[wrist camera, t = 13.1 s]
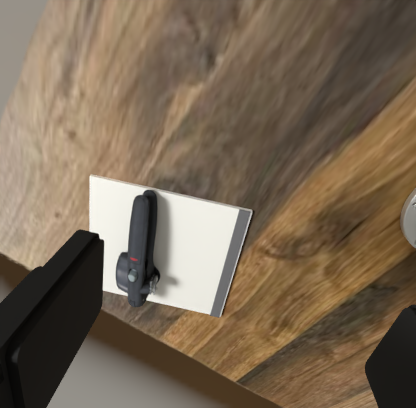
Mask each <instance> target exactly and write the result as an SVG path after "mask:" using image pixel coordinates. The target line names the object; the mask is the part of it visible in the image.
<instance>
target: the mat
mask: <svg viewBox="0 0 416 408" xmlns="http://www.w3.org/2000/svg"><path fill="white" fill-rule="evenodd" d="M146 190H152V191H154V192H155V194H156V195H157V203H158V204H157V206H158V209H157V227H156V237H155V244H154V252H153V262H154V265H155V267H156V268H157V269H158V270H159V272H160V280H159V282H158V283H157V284H156V287H157V288H158V289H156V291H155V295H154V294H153V292H152V293H151V295H150V294H149V295H148V297H147V299H146V300H148V301H152V302H157V303H161V304H166V305H170V306H175V307H179V308H184V309H188V310H192V311H197V312H201V313H206V314H210V316H215V317H221V314H222V311H223V307H224V304H225V301H226V298H227V294H228V291H229V288H230V284H231V281H232V278H233V275H234V271H235V268H236V265H237V261H238V258H239V255H240V251H241V248H242V245H243V242H244V238H245V235H246V232H247V228H248V225H249V222H250V219H251V215H252V210H251V209H246V208H242V207H237V206H233V205H228V204H224V203H219V202H215V201H210V200H206V199H201V198H197V197H192V196H188V195H183V194H179V193H174V192H170V191H165V190H161V189H156V188H152V187H147V186H143V185H138V184H134V183H129V182H125V181H120V180H116V179H111V178H107V177H102V176H98V175H93V174H91V175H90V232H94V233H98V234H99V238H100V239H103V240H104V268H103V290H104V291H108V292H113V293H117V294H121V295H126V296H128V294H127V293H125V292H124V291H122V290H120V289H118V287H117V284H116V265H117V261H118V258H119V255H120V254H121V253H122V252H128V238H129V227H130V219H131V212H132V206H133V201H134V199H135V197H136V196H138V195H143V193H144V191H146Z"/></svg>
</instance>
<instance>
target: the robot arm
mask: <svg viewBox="0 0 416 408" xmlns="http://www.w3.org/2000/svg"><path fill="white" fill-rule="evenodd" d="M400 225H401V230H402V232H403V235H404V236H405V238H406V239H407V241H408V242H409V243H410V244H411V245H412V246H413V247H414V248H416V188H415V189H414V191H413V192H412V193H411V194H410V195H409V197H408V198H407V200H406V202H405V203H404V206H403V209H402V211H401V217H400ZM103 268H104V240H103V239H100V238H99V234H98V233H94V232H89V231H85V230H78V231H76V232H75V233H74V234H73V235H72V237H71V238H70V239H69V240H68V241H67V242H66V243H65V244H64V245H63V246H62V247H61V248H60V249H59V250H58V251H57V252H56V253H55V255H54V256H53V257H52V258H51V259H50V260H49V261H48V262H47V263H46V264H45V265H44V266H43V267H41V266H39V267H37V268H35V269H34V270H32V271H31V272H30V273H29V274H28V275H27V276H26V277H25V278H24V279H23V280H22V281H21V283H19V285H17V287H16V288H15V289H14V290H13V291H12V292H11V293H10V294H9V295H8V296H7V297H6V298H5V299H4V300H3V301H2V302H1V303H0V408H46V407H47V406H48V404H49V402H50V400H51V398H52V396H53V395H54V393H55V391H56V389H57V388H58V386H59V384H60V382H61V380H62V378H63V377H64V375H65V373H66V371H67V369H68V368H69V366H70V364H71V362H72V361H73V359H74V357H75V355H76V353H77V351H78V350H79V348H80V346H81V345H82V343H83V341H84V339H85V337H86V336H87V334H88V332H89V330H90V328H91V327H92V324H93V323H94V321H95V320H96V318H97V316H98V314H99V312H100V309H101V306H102V297H103ZM365 373H366V376H367V379H368V381H369V384H370V386H371V389H372V392H373V394H374V397H375V399H376V402H377V405H378V407H379V408H416V305H411V306H409V307H408V308H405V309H403V310H402V312H401V313H400V315H399V316H398V317H397V319H396V320H395V322H394V323H393V325H392V326H391V327H390V329H389V330H388V332H387V333H386V334H385V336H384V337H383V339H382V340H381V342H380V343H379V344H378V346H377V347H376V349H375V350H374V352H373V353H372V354H371V356H370V357H369V359H368V360H367V362H366V364H365Z"/></svg>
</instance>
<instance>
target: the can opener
mask: <svg viewBox="0 0 416 408" xmlns="http://www.w3.org/2000/svg"><path fill="white" fill-rule="evenodd" d="M157 204H158V203H157V195H156V194H155V192H154V191H152V190H146V191H144V193H143V195H138V196H136V197H135V199H134V201H133V206H132V212H131V219H130V227H129V238H128V252H122V253H121V254H120V255H119V258H118V261H117V265H116V284H117V287H118V289H120V290H122V291H124V292H125V293H127V294H128V302H129V304H130V305H131V306H133V307H140V306H142V305H143V304H144V303H145V301H146V299H147V297H148V295H149V294H150V295H151V293H152V292H153V294H154V295H155V291H156V289H158V288H157V287H156V284H157V283H158V282H159V280H160V272H159V270H158V269H157V268H156V267H155V265H154V262H153V252H154V244H155V237H156V227H157V209H158V206H157Z"/></svg>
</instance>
